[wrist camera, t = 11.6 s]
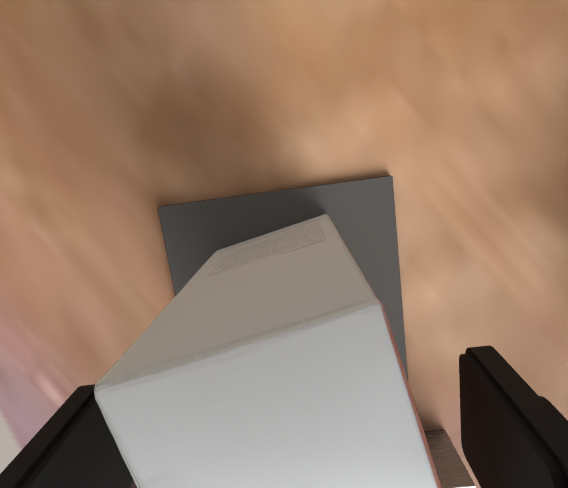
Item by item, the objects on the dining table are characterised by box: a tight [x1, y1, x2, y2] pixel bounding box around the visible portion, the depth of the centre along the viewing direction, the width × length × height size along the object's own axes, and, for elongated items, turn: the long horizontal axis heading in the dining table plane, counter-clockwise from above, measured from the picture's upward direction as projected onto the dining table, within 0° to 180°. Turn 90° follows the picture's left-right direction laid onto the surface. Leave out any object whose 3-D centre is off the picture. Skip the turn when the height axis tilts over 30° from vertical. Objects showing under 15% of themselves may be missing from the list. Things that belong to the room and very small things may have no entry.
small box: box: [94, 214, 442, 488], centre depth 15 cm, size 8×6×13 cm
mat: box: [158, 176, 408, 381], centre depth 21 cm, size 12×12×1 cm
